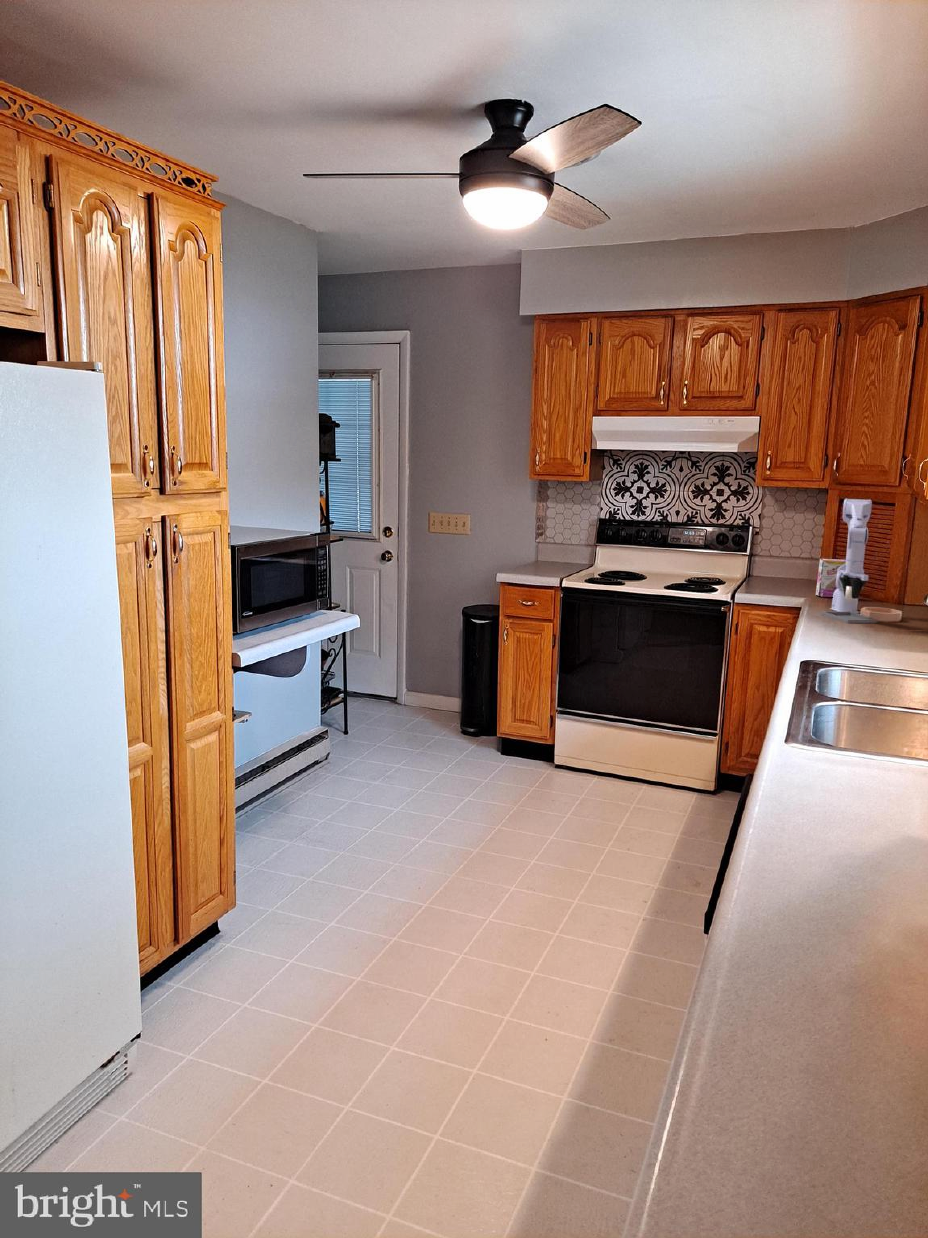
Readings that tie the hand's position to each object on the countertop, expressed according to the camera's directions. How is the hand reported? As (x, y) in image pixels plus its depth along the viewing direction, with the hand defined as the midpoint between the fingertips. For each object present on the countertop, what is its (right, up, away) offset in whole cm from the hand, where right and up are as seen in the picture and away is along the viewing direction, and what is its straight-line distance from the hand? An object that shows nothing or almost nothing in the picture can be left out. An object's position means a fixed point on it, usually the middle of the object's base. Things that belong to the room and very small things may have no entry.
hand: (851, 597), depth 327 cm
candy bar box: (+15, +1, +56) cm, 58 cm away
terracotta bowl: (+13, -8, +5) cm, 17 cm away
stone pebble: (0, -1, 0) cm, 1 cm away
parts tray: (0, -9, +2) cm, 9 cm away
